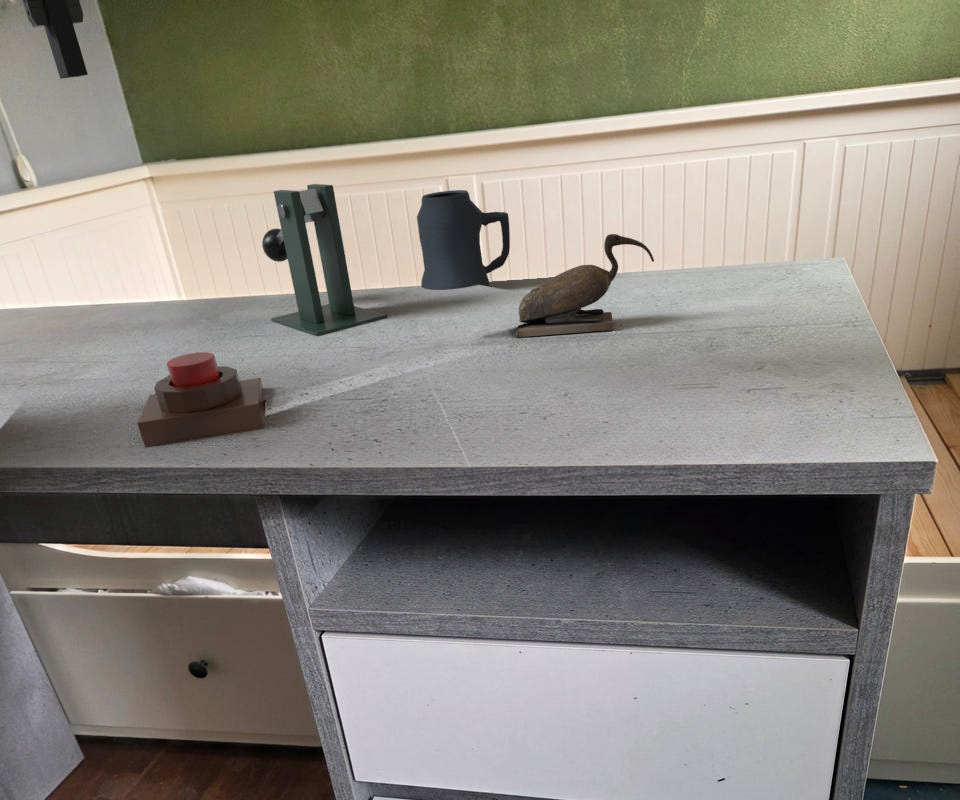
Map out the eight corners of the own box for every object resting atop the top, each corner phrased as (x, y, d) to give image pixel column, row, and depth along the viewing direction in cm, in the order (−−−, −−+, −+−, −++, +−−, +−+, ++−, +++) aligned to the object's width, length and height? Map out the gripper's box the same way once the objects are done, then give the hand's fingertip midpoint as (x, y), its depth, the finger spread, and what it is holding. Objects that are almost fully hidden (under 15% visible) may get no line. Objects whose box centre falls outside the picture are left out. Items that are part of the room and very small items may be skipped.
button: (171, 393, 74) (163, 369, 72) (176, 380, 77) (169, 356, 76) (219, 385, 74) (212, 361, 73) (222, 373, 77) (215, 349, 76)
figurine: (652, 316, 92) (653, 226, 87) (654, 327, 88) (655, 234, 83) (519, 326, 94) (513, 239, 89) (516, 338, 90) (509, 247, 86)
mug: (416, 302, 109) (402, 203, 103) (424, 286, 116) (412, 192, 110) (512, 294, 107) (504, 192, 101) (514, 278, 115) (507, 182, 109)
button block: (145, 448, 74) (129, 401, 71) (156, 418, 80) (143, 374, 78) (264, 428, 75) (252, 382, 72) (266, 400, 81) (255, 357, 79)
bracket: (273, 331, 104) (242, 193, 96) (340, 314, 108) (315, 180, 100) (319, 347, 96) (288, 197, 87) (389, 328, 100) (366, 182, 91)
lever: (265, 268, 105) (254, 238, 105) (292, 262, 107) (281, 233, 106) (301, 221, 93) (289, 186, 92) (331, 215, 95) (319, 181, 94)
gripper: (34, -326, 62) (140, 71, 75) (-176, -345, 56) (-22, 88, 69) (60, -371, 56) (169, 65, 69) (-169, -398, 51) (-4, 83, 64)
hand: (73, 76), depth 69 cm, fingers closed
